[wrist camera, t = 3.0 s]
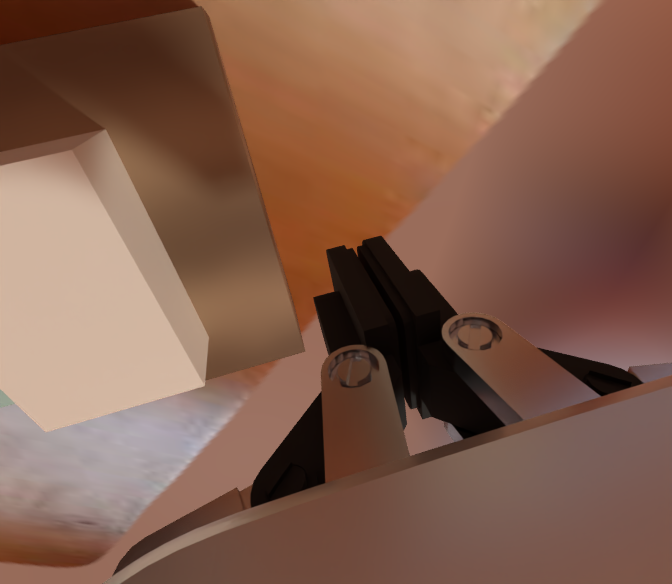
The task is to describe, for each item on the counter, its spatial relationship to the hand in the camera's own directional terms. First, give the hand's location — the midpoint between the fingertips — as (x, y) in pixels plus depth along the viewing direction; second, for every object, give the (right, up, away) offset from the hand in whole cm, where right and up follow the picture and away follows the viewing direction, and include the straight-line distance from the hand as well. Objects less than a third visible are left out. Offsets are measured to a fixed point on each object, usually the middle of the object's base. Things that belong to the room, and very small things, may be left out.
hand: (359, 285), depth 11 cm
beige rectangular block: (-10, 0, +1) cm, 10 cm away
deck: (-10, +3, +6) cm, 12 cm away
